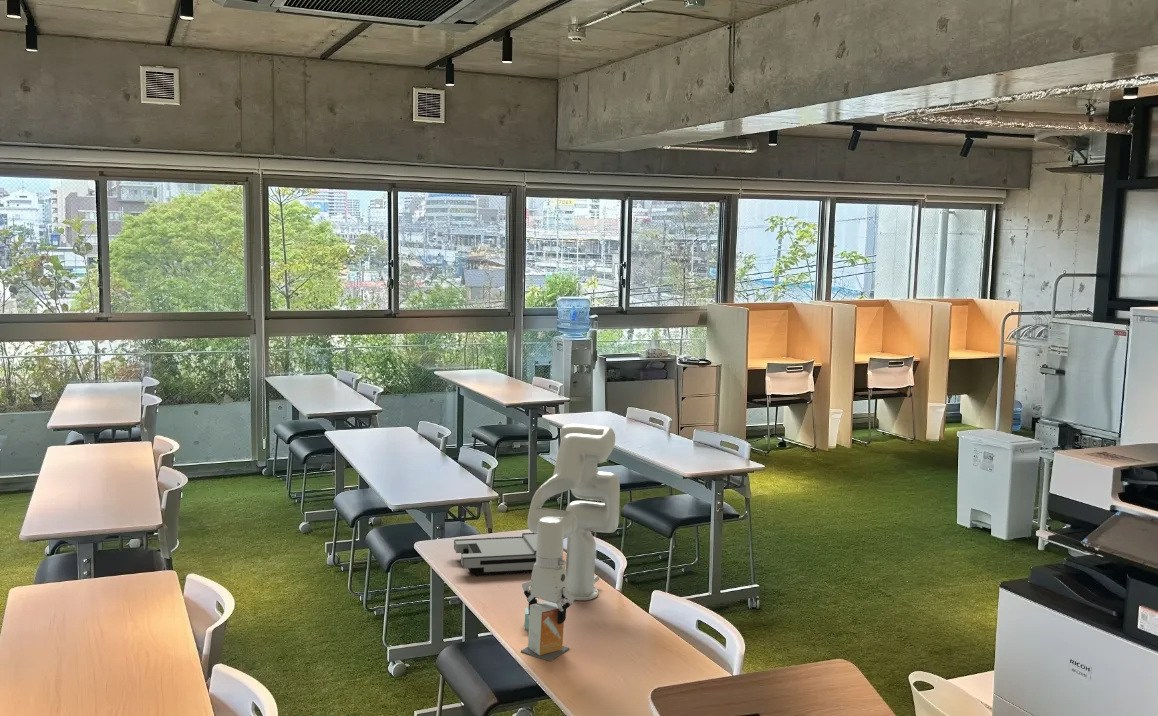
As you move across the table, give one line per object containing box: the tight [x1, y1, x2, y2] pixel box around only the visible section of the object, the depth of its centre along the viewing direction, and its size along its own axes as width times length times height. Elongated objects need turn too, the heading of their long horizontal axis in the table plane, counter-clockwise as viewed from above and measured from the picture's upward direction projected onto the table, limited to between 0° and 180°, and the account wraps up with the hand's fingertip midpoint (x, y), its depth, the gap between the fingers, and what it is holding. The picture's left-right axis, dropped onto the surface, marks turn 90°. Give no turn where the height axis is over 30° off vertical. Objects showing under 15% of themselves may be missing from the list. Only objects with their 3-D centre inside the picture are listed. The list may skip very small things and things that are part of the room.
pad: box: [520, 645, 570, 662], centre depth 274 cm, size 10×10×1 cm
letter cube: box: [524, 606, 529, 631], centre depth 290 cm, size 5×5×5 cm
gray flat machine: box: [453, 532, 537, 577], centre depth 342 cm, size 21×32×8 cm, turn 106°
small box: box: [527, 600, 565, 655], centre depth 274 cm, size 8×6×13 cm
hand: (546, 618), depth 273 cm, fingers open, 9 cm apart
